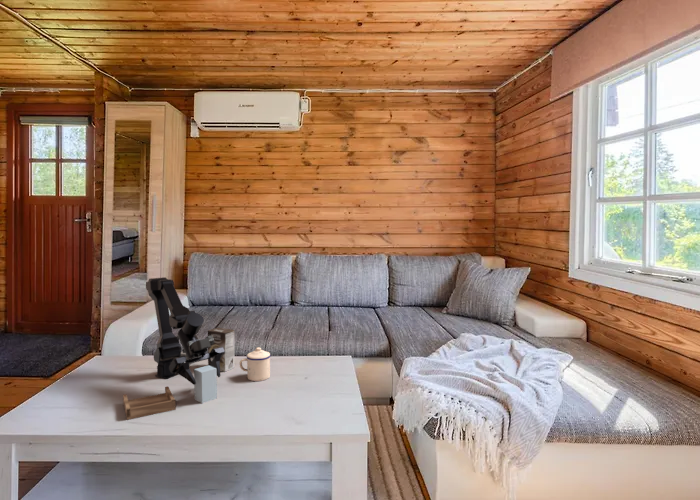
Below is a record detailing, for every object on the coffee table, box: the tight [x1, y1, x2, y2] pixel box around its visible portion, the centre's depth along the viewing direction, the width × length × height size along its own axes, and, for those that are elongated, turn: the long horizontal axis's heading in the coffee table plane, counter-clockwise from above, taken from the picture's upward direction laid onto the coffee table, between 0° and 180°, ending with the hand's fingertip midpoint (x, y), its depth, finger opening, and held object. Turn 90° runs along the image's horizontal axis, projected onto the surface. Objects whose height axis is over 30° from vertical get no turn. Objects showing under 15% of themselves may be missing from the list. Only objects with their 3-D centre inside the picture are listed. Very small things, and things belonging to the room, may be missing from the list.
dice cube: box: [181, 350, 194, 366], centre depth 184 cm, size 5×5×5 cm
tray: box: [122, 386, 177, 421], centre depth 141 cm, size 14×14×3 cm
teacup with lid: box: [239, 347, 271, 382], centre depth 168 cm, size 12×9×12 cm
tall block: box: [193, 364, 218, 404], centre depth 147 cm, size 5×6×10 cm
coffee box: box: [207, 327, 235, 373], centre depth 178 cm, size 9×6×16 cm
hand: (207, 380), depth 146 cm, fingers open, 9 cm apart
